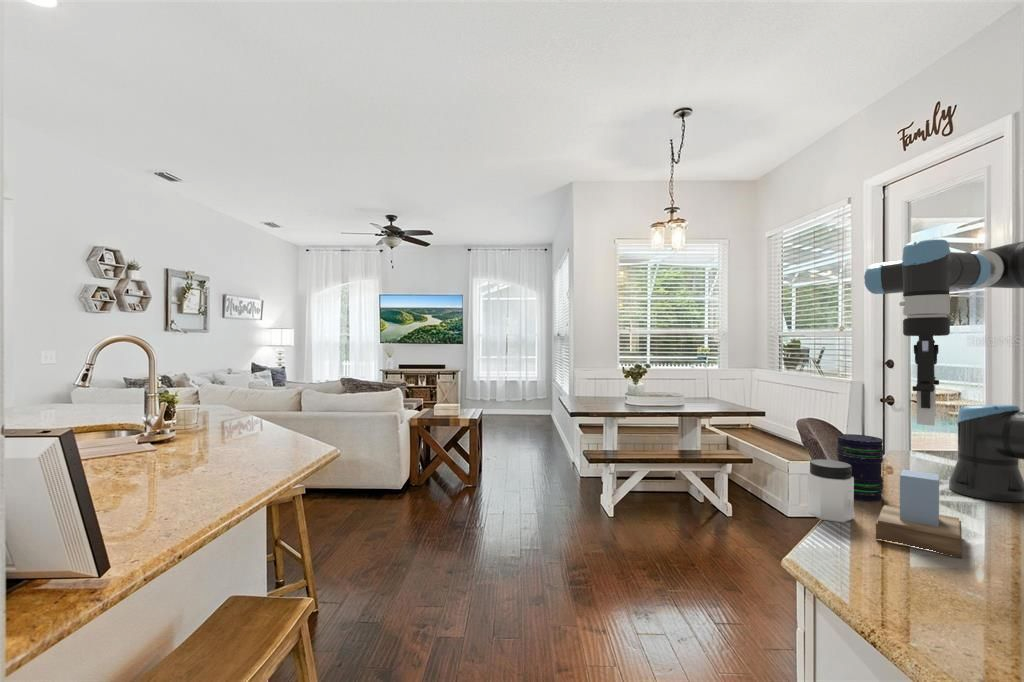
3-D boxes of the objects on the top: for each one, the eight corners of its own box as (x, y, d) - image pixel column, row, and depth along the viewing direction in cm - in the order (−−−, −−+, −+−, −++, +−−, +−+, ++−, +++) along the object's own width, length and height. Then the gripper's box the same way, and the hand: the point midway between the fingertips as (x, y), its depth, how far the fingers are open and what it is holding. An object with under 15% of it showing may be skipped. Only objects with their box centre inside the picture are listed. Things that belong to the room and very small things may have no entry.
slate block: (901, 512, 108) (902, 469, 108) (938, 518, 104) (939, 474, 104) (899, 519, 104) (900, 475, 104) (938, 527, 100) (938, 480, 100)
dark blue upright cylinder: (841, 499, 130) (841, 439, 130) (832, 488, 139) (832, 433, 139) (888, 504, 126) (889, 442, 126) (876, 492, 135) (876, 435, 135)
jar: (840, 525, 112) (840, 470, 112) (801, 514, 119) (801, 462, 118) (859, 517, 117) (859, 464, 117) (821, 507, 123) (821, 457, 123)
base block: (882, 522, 113) (882, 504, 113) (960, 537, 105) (961, 517, 105) (875, 540, 103) (875, 520, 103) (961, 558, 95) (961, 536, 95)
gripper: (906, 317, 118) (907, 410, 119) (898, 316, 99) (900, 427, 99) (949, 316, 113) (950, 413, 114) (950, 315, 94) (951, 431, 95)
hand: (926, 419), depth 107 cm, fingers open, 13 cm apart
